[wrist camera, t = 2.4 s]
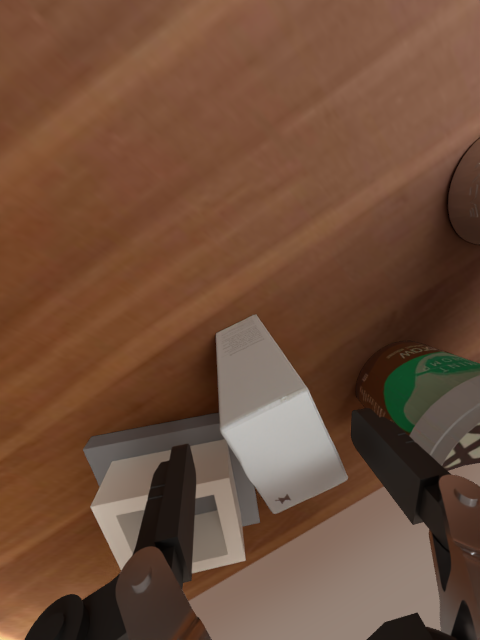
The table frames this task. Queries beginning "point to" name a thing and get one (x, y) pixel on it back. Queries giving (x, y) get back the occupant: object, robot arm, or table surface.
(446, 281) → the table surface
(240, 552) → the box stand
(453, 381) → the food container
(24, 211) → the table surface
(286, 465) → the skincare box
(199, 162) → the table surface
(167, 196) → the table surface
